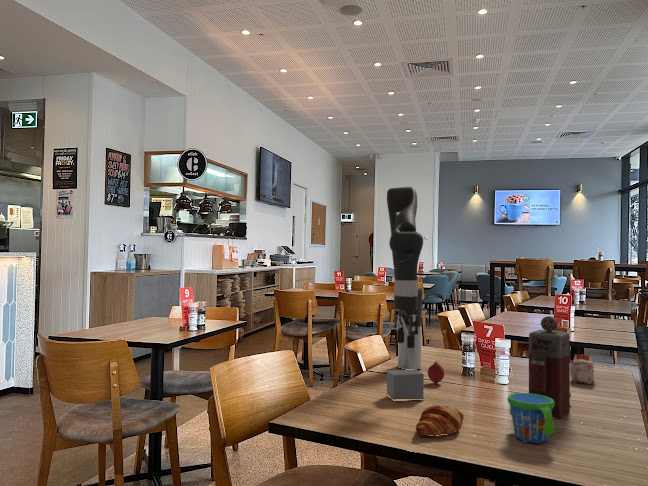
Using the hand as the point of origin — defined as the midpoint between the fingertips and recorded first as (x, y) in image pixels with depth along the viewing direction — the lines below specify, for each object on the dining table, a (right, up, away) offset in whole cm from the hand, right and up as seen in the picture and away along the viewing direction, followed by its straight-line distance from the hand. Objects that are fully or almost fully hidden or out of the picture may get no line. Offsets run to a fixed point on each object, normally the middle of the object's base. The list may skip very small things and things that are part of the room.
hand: (405, 345), depth 160 cm
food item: (+70, -19, +27) cm, 77 cm away
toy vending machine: (+39, -17, -13) cm, 45 cm away
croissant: (+5, -17, -29) cm, 34 cm away
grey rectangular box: (0, -17, 0) cm, 17 cm away
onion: (+14, -18, +19) cm, 29 cm away
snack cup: (+26, -16, -35) cm, 46 cm away
